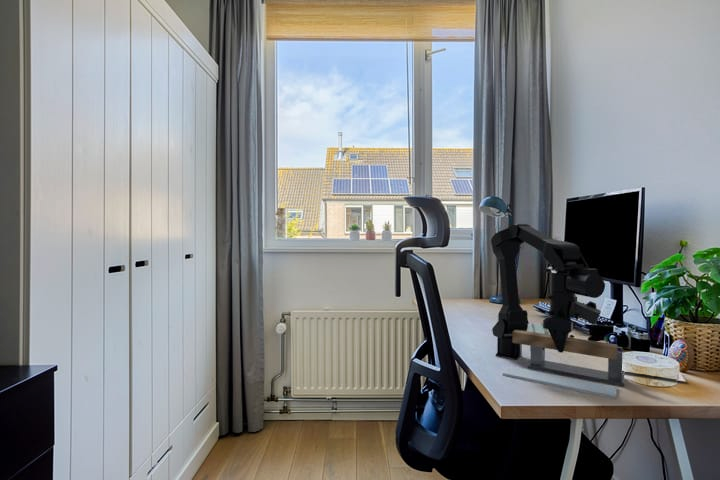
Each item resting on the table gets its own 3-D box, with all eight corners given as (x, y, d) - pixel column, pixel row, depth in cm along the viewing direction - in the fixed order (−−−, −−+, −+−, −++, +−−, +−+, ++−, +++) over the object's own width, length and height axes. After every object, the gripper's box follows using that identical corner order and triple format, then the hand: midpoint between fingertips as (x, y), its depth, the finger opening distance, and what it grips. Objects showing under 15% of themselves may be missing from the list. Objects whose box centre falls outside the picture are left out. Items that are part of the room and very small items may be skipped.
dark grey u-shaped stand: (527, 368, 111) (528, 339, 111) (532, 361, 116) (533, 333, 116) (624, 386, 98) (624, 353, 97) (624, 378, 103) (624, 347, 103)
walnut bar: (512, 342, 106) (512, 331, 105) (515, 340, 108) (515, 329, 108) (616, 359, 92) (617, 347, 92) (617, 356, 94) (617, 344, 94)
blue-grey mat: (502, 375, 105) (502, 372, 105) (509, 367, 111) (509, 365, 111) (616, 399, 90) (616, 396, 90) (616, 389, 96) (616, 386, 96)
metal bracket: (510, 317, 153) (551, 319, 149) (509, 330, 155) (550, 332, 151) (514, 336, 140) (559, 339, 136) (514, 350, 142) (558, 353, 138)
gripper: (596, 299, 87) (594, 367, 88) (601, 290, 103) (599, 347, 103) (543, 295, 94) (542, 357, 94) (555, 286, 109) (554, 340, 109)
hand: (561, 350), depth 100 cm, fingers closed on walnut bar, 3 cm apart
